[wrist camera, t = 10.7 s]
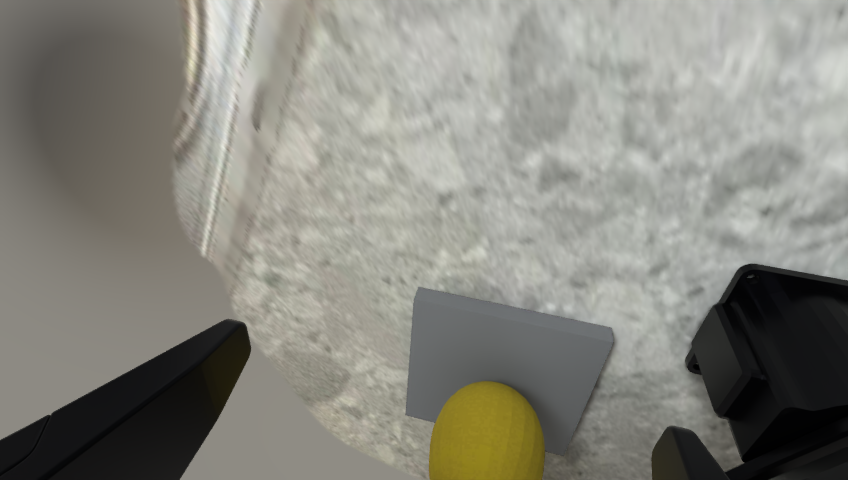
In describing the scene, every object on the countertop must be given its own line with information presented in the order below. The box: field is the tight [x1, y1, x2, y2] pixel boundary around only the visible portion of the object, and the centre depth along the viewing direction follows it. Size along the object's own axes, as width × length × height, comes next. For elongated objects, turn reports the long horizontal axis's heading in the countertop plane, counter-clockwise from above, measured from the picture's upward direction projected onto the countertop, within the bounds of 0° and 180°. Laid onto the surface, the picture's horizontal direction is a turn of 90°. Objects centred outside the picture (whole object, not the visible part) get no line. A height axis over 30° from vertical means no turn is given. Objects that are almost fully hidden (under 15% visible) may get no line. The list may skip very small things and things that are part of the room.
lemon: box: [429, 381, 545, 480], centre depth 22 cm, size 6×6×8 cm
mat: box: [406, 287, 613, 456], centre depth 26 cm, size 10×10×1 cm
